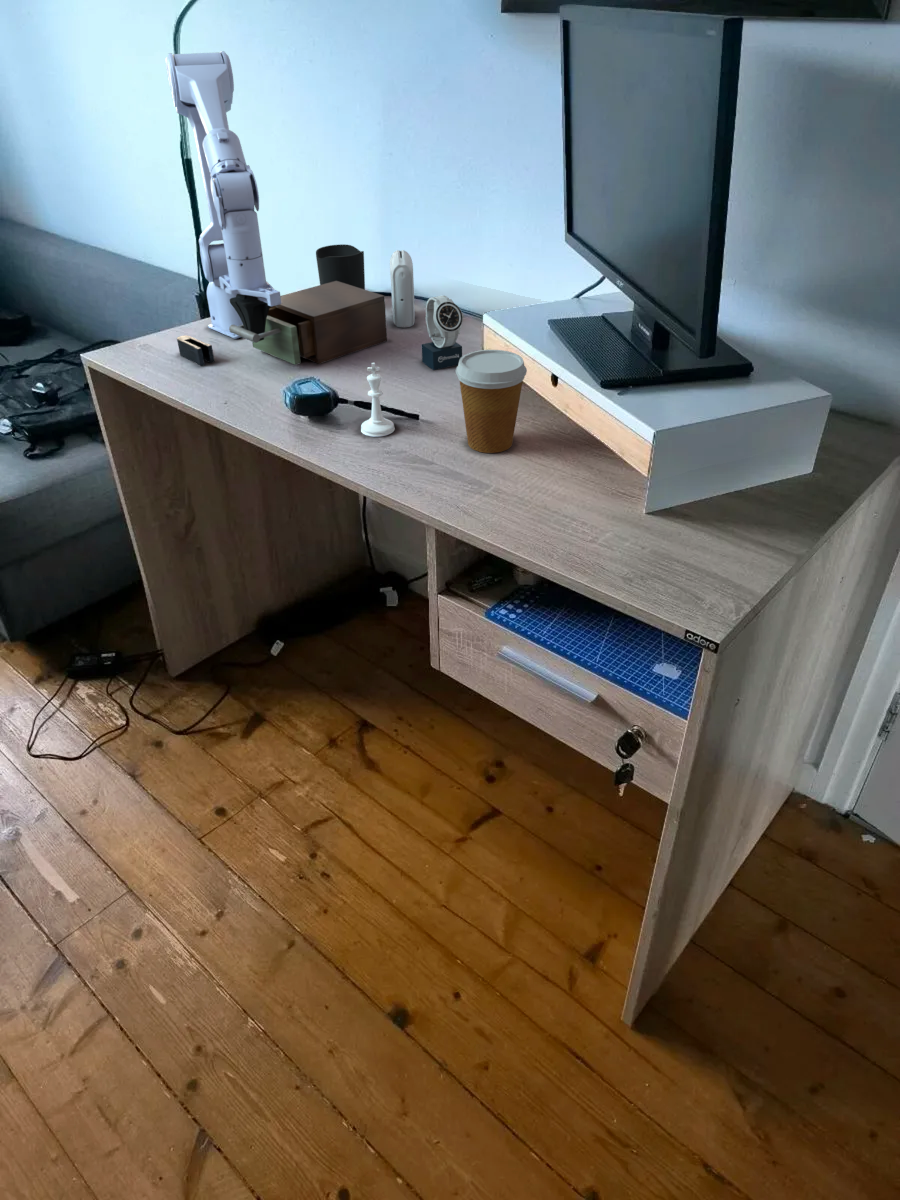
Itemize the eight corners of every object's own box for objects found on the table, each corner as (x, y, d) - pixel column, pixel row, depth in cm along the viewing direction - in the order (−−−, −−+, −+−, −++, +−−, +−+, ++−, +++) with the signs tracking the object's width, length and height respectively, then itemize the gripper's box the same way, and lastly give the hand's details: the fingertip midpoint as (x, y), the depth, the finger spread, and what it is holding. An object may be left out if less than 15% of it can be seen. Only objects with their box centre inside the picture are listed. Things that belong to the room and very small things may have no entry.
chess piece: (360, 423, 127) (355, 357, 121) (394, 421, 127) (390, 356, 121) (360, 437, 123) (355, 370, 117) (395, 436, 123) (391, 369, 117)
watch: (438, 374, 142) (437, 307, 135) (417, 358, 148) (415, 294, 141) (468, 367, 144) (468, 301, 137) (446, 352, 150) (445, 288, 143)
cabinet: (319, 364, 146) (313, 316, 141) (272, 345, 154) (266, 299, 149) (387, 341, 155) (384, 295, 150) (340, 324, 163) (336, 280, 158)
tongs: (176, 354, 151) (173, 338, 149) (190, 350, 152) (187, 334, 151) (200, 366, 146) (197, 349, 144) (214, 362, 148) (211, 344, 146)
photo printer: (416, 327, 161) (413, 259, 153) (393, 328, 160) (389, 260, 153) (413, 310, 169) (411, 244, 162) (392, 311, 169) (388, 245, 161)
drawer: (267, 374, 140) (261, 336, 137) (225, 355, 147) (219, 319, 144) (361, 343, 152) (358, 307, 148) (318, 327, 159) (314, 292, 155)
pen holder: (315, 308, 171) (309, 256, 165) (328, 294, 178) (323, 243, 172) (360, 310, 170) (356, 257, 164) (371, 295, 177) (368, 245, 171)
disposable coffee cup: (446, 452, 118) (445, 369, 111) (469, 425, 126) (469, 345, 118) (512, 463, 116) (514, 378, 108) (532, 434, 123) (535, 352, 116)
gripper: (197, 252, 137) (212, 335, 145) (249, 269, 129) (262, 356, 137) (235, 244, 141) (247, 325, 149) (287, 259, 133) (297, 345, 141)
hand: (256, 340), depth 143 cm, fingers closed, pressing on drawer
